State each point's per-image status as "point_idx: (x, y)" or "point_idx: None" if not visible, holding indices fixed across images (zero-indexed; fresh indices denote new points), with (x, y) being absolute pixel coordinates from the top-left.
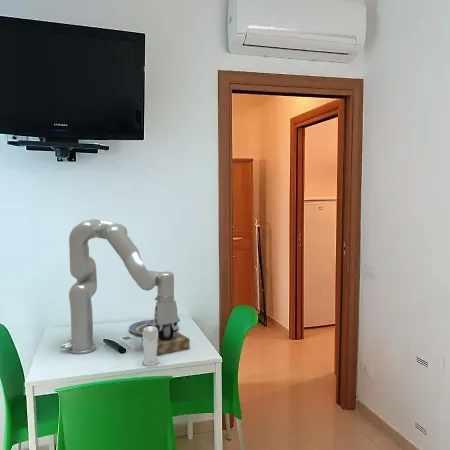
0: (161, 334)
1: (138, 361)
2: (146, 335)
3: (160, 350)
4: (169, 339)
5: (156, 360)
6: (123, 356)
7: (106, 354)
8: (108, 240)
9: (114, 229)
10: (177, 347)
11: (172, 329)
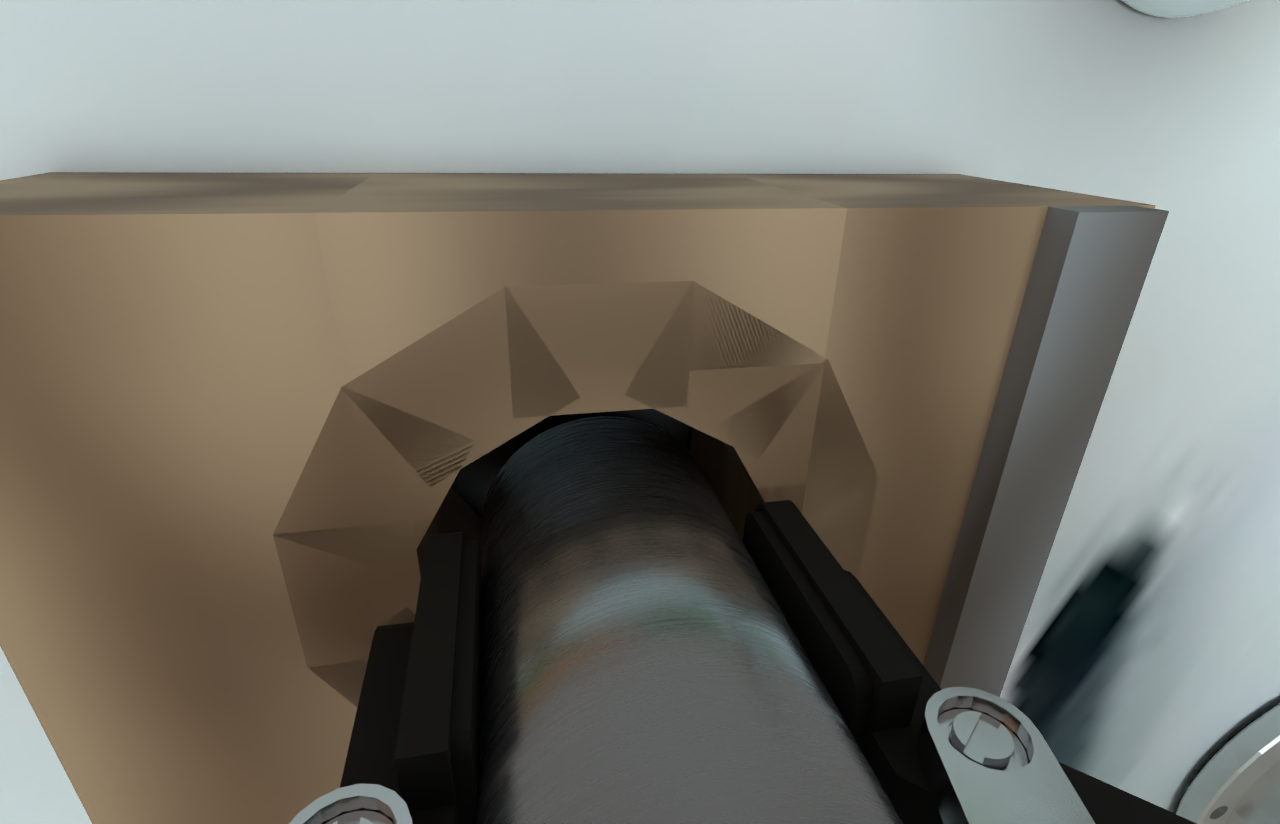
0: (853, 589)
1: (1256, 103)
2: None
3: (876, 184)
4: (558, 470)
5: None
6: (1220, 431)
7: (1274, 576)
8: None
9: None
10: (408, 186)
11: (418, 743)
